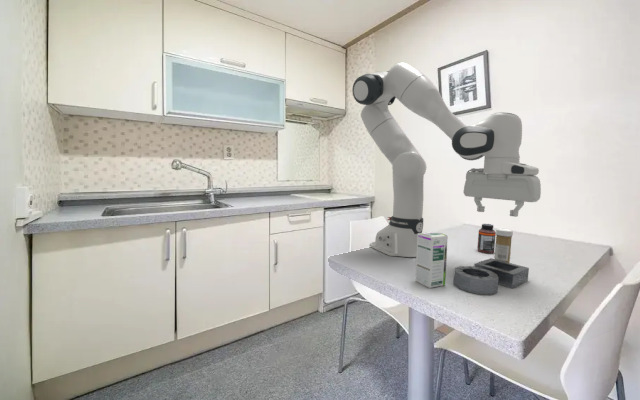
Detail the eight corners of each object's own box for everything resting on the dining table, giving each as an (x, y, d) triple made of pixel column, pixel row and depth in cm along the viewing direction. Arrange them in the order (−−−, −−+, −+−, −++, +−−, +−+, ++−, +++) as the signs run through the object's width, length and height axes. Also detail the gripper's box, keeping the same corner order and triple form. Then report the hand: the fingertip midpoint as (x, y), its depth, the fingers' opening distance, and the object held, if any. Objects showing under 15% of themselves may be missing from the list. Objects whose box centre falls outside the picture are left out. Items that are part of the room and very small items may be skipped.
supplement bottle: (477, 248, 116) (480, 222, 115) (494, 251, 113) (496, 224, 112) (476, 252, 111) (478, 224, 110) (493, 254, 108) (496, 226, 107)
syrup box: (430, 288, 75) (433, 236, 73) (414, 280, 80) (417, 232, 78) (445, 285, 77) (448, 235, 75) (429, 278, 82) (432, 230, 81)
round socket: (446, 283, 78) (447, 270, 78) (465, 276, 84) (466, 264, 84) (484, 298, 69) (486, 283, 69) (503, 289, 75) (505, 275, 75)
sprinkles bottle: (511, 269, 91) (515, 229, 90) (505, 272, 89) (509, 231, 87) (496, 265, 95) (500, 227, 94) (490, 267, 93) (493, 228, 91)
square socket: (473, 276, 84) (474, 263, 84) (490, 270, 90) (491, 258, 90) (512, 288, 76) (513, 274, 75) (527, 280, 82) (529, 267, 81)
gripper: (461, 168, 89) (458, 209, 91) (535, 168, 72) (530, 220, 73) (472, 168, 93) (468, 208, 94) (545, 168, 75) (540, 218, 77)
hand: (496, 213), depth 84 cm, fingers open, 8 cm apart
